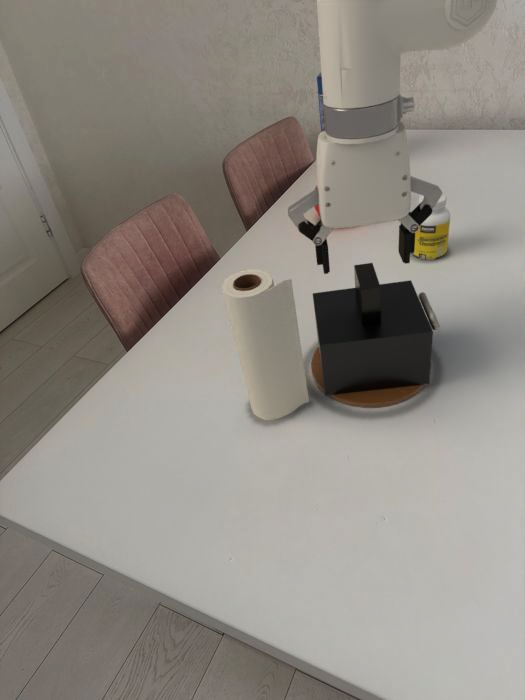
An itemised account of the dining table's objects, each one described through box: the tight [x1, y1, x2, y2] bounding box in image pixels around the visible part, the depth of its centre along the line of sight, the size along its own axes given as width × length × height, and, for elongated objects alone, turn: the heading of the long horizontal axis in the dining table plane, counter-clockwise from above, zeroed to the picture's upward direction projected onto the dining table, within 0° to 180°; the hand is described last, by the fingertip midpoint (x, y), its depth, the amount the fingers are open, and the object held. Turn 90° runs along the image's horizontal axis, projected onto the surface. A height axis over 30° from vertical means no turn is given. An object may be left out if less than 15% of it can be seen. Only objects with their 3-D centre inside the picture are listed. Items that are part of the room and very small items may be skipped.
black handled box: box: [310, 262, 441, 409], centre depth 68 cm, size 17×17×15 cm
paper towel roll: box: [221, 268, 310, 421], centre depth 63 cm, size 7×6×21 cm
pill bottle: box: [410, 192, 451, 262], centre depth 91 cm, size 6×6×12 cm
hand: (364, 263), depth 62 cm, fingers open, 9 cm apart
